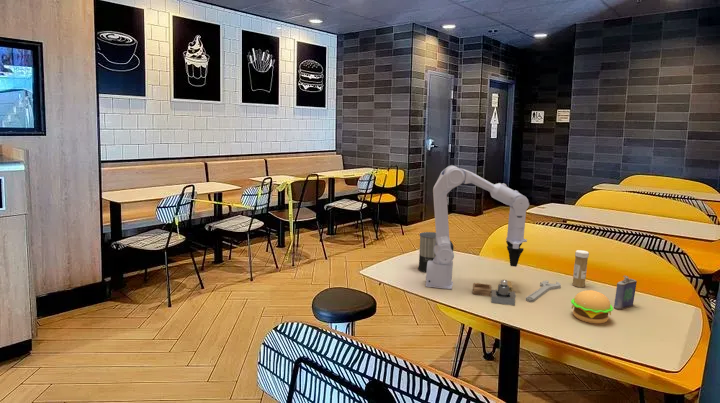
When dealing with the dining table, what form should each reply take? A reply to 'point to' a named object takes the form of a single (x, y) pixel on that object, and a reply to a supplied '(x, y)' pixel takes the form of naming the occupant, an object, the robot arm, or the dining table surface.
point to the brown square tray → (481, 289)
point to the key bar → (509, 286)
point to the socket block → (503, 298)
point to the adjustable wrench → (542, 290)
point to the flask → (625, 293)
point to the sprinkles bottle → (580, 268)
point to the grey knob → (503, 289)
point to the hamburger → (591, 307)
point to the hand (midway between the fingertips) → (512, 263)
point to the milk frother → (427, 249)
